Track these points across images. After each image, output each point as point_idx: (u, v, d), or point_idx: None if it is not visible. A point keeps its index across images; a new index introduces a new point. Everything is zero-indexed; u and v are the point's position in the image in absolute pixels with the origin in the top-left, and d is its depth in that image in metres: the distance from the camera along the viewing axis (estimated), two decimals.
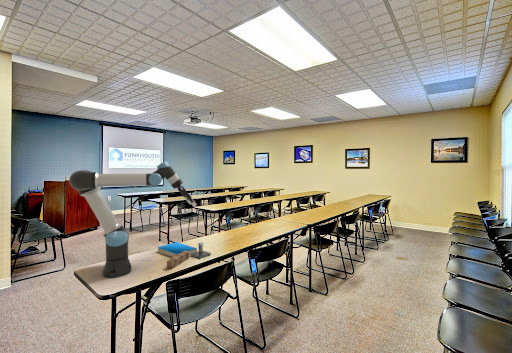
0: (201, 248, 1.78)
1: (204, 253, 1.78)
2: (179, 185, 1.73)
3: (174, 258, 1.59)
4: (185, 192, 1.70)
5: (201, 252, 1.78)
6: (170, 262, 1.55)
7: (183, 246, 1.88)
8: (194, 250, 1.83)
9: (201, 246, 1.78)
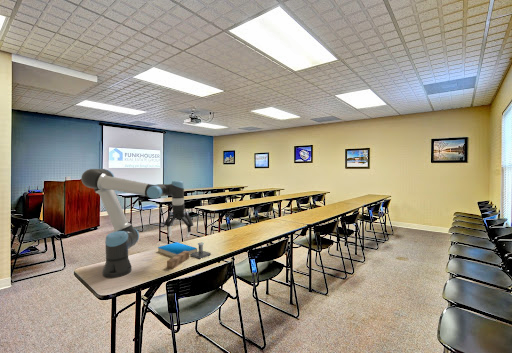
0: (201, 248, 1.78)
1: (204, 253, 1.78)
2: (183, 210, 1.64)
3: (174, 258, 1.59)
4: (189, 218, 1.62)
5: (201, 252, 1.78)
6: (170, 262, 1.54)
7: (183, 246, 1.88)
8: (194, 250, 1.83)
9: (201, 246, 1.78)
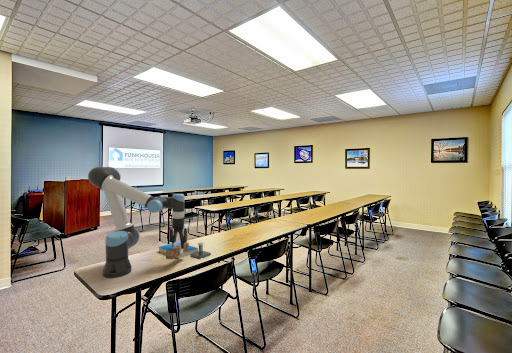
0: (201, 248, 1.78)
1: (204, 253, 1.78)
2: None
3: (173, 248, 1.59)
4: (186, 235, 1.63)
5: (201, 252, 1.78)
6: (169, 252, 1.54)
7: None
8: (195, 250, 1.84)
9: (201, 246, 1.78)
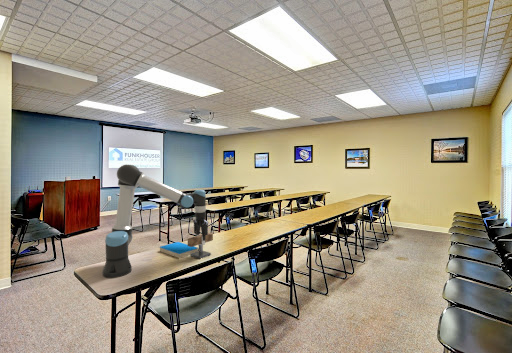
0: (201, 248, 1.78)
1: (204, 253, 1.78)
2: None
3: (195, 237, 1.74)
4: (206, 228, 1.75)
5: (201, 252, 1.78)
6: (190, 240, 1.70)
7: (185, 246, 1.89)
8: (196, 250, 1.84)
9: (201, 246, 1.78)
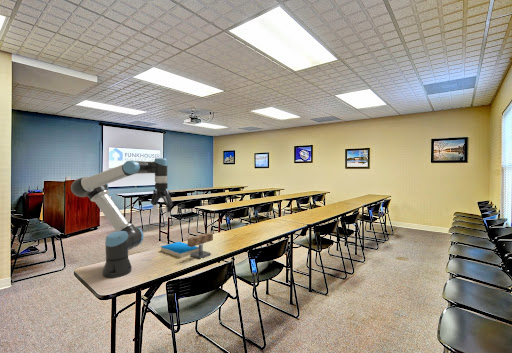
0: (201, 248, 1.78)
1: (204, 253, 1.78)
2: (165, 188, 1.57)
3: (195, 237, 1.74)
4: (169, 198, 1.54)
5: (201, 252, 1.78)
6: (190, 240, 1.70)
7: (186, 246, 1.89)
8: (197, 249, 1.85)
9: (201, 246, 1.78)
